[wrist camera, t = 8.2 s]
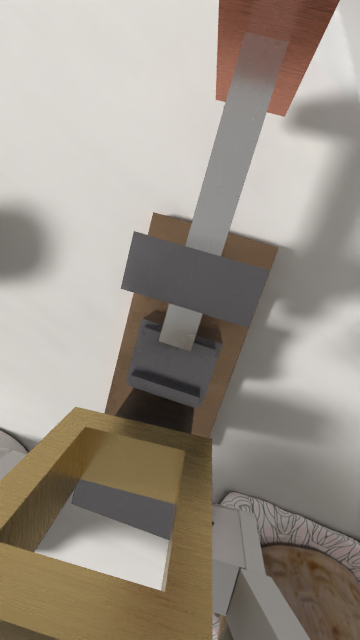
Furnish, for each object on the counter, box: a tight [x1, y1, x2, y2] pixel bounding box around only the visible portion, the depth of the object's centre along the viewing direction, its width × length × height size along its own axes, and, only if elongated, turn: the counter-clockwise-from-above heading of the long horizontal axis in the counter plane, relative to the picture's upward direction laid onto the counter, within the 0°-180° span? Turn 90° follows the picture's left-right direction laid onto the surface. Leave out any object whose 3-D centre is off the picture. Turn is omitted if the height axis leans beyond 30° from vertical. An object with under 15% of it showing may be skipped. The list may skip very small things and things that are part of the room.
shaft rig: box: [72, 212, 278, 540], centre depth 20 cm, size 23×12×12 cm, turn 164°
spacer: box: [0, 407, 213, 640], centre depth 7 cm, size 2×6×6 cm, turn 81°
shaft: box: [159, 0, 340, 351], centre depth 14 cm, size 19×5×8 cm, turn 164°
